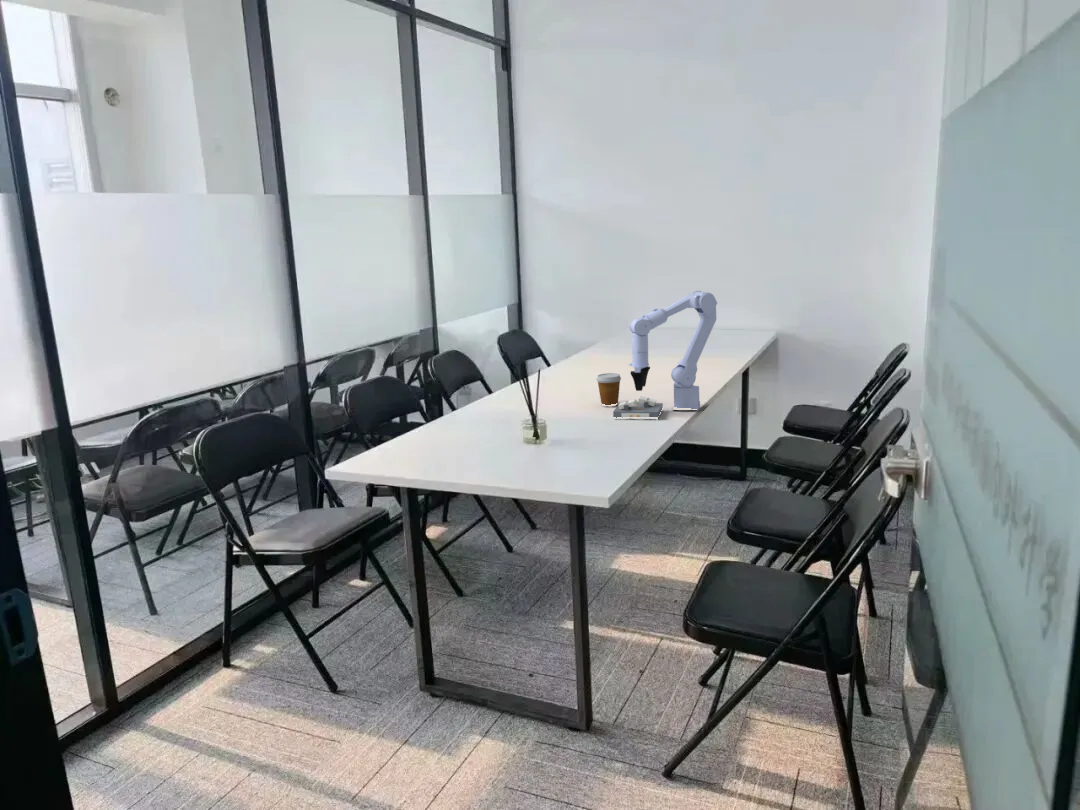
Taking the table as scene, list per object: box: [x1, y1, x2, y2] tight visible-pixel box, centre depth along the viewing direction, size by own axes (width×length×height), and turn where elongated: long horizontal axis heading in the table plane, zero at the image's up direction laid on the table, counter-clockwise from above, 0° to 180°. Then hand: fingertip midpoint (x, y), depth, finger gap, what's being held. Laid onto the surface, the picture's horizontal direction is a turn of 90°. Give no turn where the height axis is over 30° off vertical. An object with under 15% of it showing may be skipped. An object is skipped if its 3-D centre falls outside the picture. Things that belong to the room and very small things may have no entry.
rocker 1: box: [618, 398, 638, 409], centre depth 286 cm, size 6×4×2 cm, turn 74°
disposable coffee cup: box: [596, 372, 622, 405], centre depth 305 cm, size 10×10×12 cm
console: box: [612, 402, 664, 418], centre depth 288 cm, size 16×14×5 cm
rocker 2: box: [637, 395, 657, 406], centre depth 289 cm, size 6×4×2 cm, turn 74°
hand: (640, 388), depth 289 cm, fingers open, 7 cm apart
